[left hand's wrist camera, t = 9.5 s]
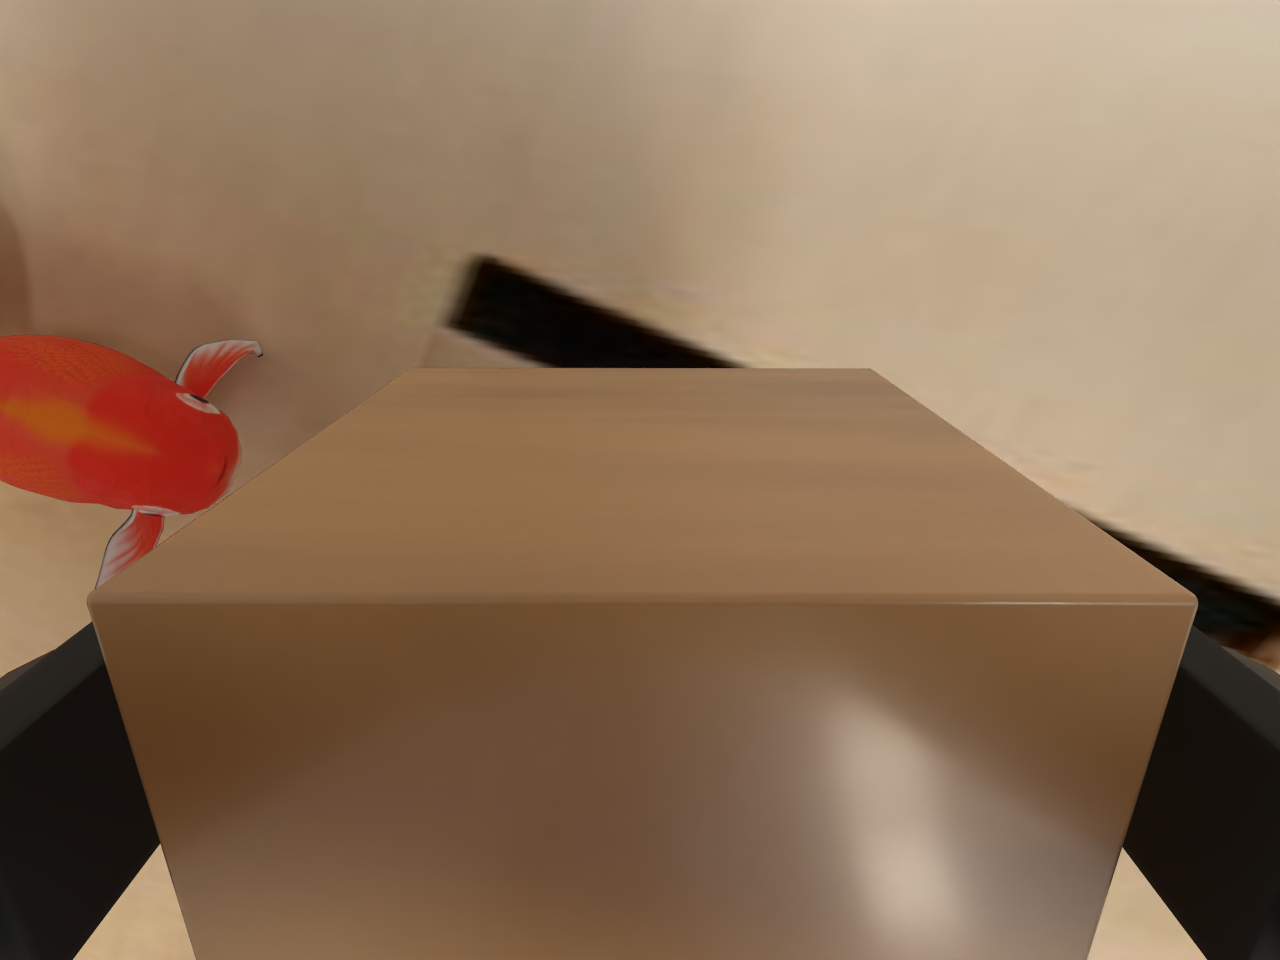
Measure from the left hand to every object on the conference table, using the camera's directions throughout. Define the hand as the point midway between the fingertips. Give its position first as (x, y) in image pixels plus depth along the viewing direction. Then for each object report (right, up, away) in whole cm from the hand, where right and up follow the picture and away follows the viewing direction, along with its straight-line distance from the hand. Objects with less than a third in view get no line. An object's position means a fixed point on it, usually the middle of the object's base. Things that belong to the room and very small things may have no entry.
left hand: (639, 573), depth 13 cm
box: (0, -9, +5) cm, 11 cm away
